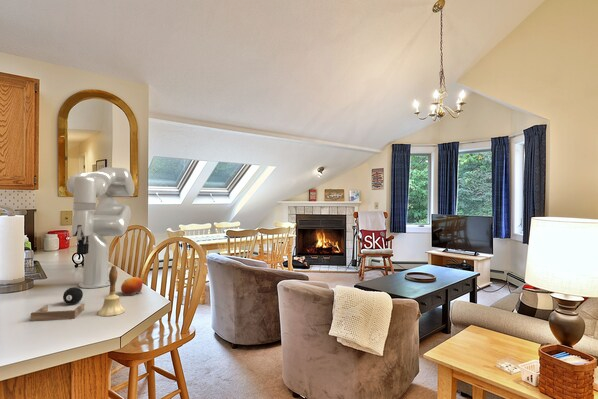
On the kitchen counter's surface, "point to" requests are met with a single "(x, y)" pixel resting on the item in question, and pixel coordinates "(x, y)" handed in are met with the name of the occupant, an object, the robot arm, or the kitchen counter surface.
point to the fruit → (132, 286)
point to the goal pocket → (55, 314)
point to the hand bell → (111, 298)
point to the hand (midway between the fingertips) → (82, 253)
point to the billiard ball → (72, 295)
